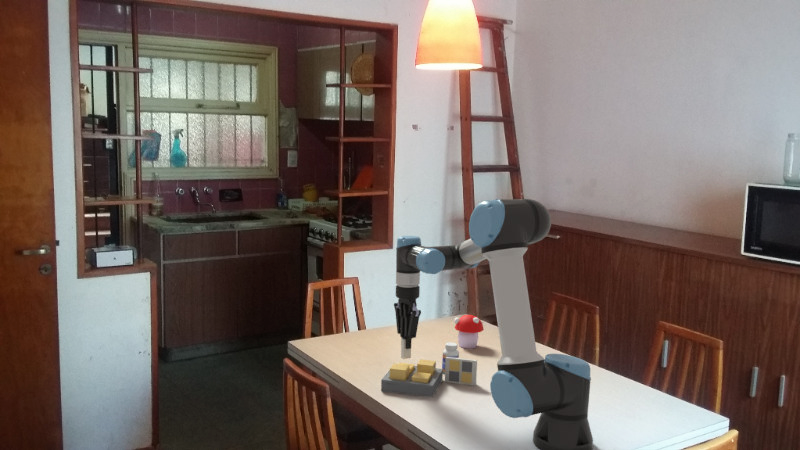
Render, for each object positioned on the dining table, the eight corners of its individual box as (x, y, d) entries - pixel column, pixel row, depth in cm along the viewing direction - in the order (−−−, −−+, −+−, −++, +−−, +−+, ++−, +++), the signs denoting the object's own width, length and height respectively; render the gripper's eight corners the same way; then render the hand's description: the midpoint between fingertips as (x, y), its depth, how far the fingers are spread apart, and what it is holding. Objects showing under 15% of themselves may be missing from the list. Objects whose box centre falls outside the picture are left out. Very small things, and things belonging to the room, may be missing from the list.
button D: (410, 381, 227) (410, 369, 227) (395, 379, 228) (395, 367, 228) (413, 376, 232) (414, 364, 231) (398, 374, 233) (399, 362, 233)
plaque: (475, 385, 227) (476, 361, 226) (444, 382, 230) (445, 357, 229) (476, 384, 229) (477, 360, 228) (445, 380, 231) (446, 356, 230)
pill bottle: (439, 373, 238) (440, 344, 237) (445, 368, 243) (447, 340, 242) (454, 376, 236) (455, 347, 234) (460, 371, 240) (461, 343, 239)
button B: (405, 382, 220) (405, 370, 220) (389, 381, 221) (389, 368, 221) (409, 377, 225) (409, 365, 224) (393, 375, 226) (393, 363, 226)
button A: (427, 391, 219) (427, 378, 218) (411, 389, 220) (411, 377, 219) (430, 386, 224) (431, 373, 223) (415, 384, 225) (415, 371, 224)
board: (432, 397, 216) (432, 385, 216) (381, 390, 220) (381, 379, 220) (442, 379, 232) (442, 369, 231) (394, 374, 236) (394, 363, 235)
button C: (432, 378, 225) (432, 365, 225) (416, 376, 226) (417, 364, 226) (435, 373, 230) (435, 361, 229) (420, 371, 231) (420, 359, 231)
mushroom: (448, 343, 272) (449, 312, 271) (473, 340, 277) (474, 309, 275) (462, 351, 263) (463, 319, 261) (488, 348, 267) (489, 316, 266)
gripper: (429, 287, 222) (426, 361, 225) (407, 280, 234) (405, 350, 236) (408, 289, 219) (406, 365, 221) (387, 282, 230) (385, 353, 233)
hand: (405, 357), depth 229 cm, fingers closed
